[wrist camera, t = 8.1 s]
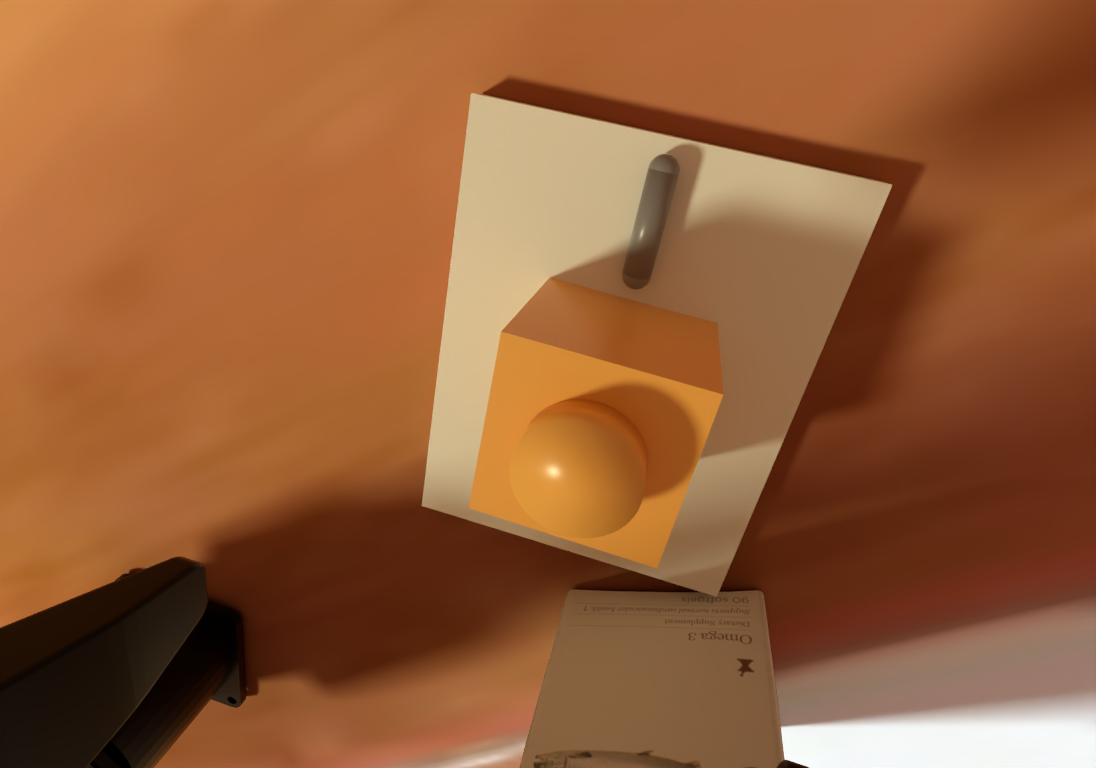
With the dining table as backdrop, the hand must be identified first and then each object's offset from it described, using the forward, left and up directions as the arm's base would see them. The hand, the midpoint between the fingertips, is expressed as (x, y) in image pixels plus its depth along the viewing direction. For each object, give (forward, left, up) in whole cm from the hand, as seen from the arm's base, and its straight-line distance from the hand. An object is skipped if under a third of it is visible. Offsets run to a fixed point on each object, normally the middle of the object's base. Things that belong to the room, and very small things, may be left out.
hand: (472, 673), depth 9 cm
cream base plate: (0, -1, -12) cm, 12 cm away
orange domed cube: (0, -1, -11) cm, 11 cm away
